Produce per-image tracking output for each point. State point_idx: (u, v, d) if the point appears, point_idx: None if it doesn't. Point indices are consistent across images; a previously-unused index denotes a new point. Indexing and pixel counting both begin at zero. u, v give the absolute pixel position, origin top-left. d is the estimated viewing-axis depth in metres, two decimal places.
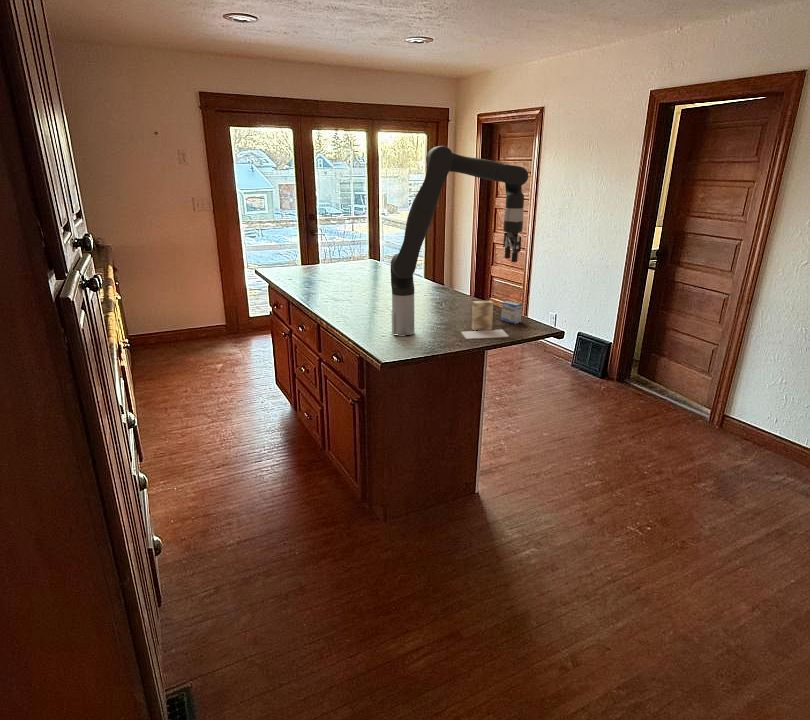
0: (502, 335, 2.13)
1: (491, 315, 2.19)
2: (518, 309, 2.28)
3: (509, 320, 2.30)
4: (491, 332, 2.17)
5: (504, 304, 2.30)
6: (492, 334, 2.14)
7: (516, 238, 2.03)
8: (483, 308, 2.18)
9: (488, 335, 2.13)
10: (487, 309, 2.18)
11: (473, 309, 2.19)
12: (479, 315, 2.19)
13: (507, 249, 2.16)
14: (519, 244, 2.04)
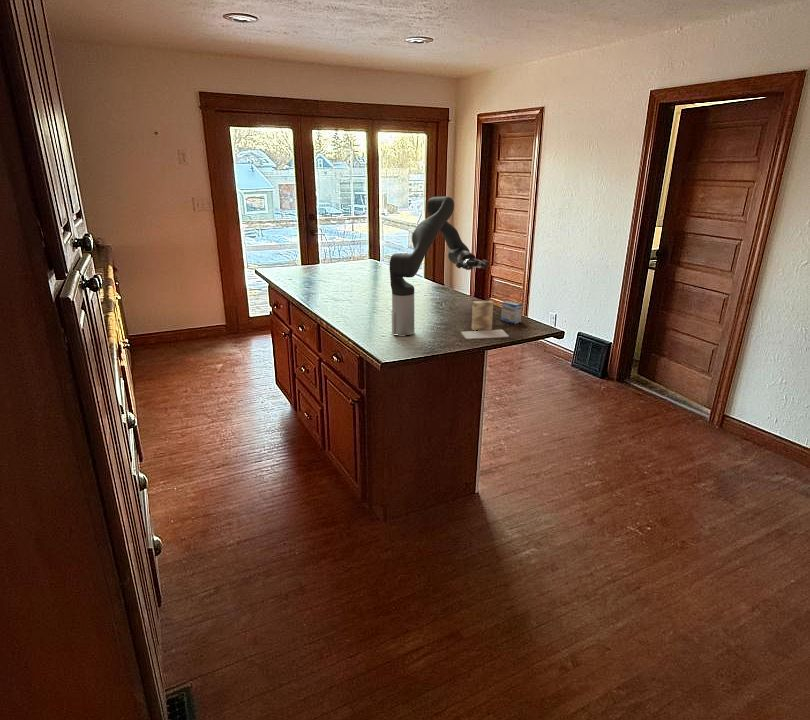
0: (502, 335, 2.13)
1: (491, 315, 2.19)
2: (518, 309, 2.28)
3: (509, 320, 2.30)
4: (491, 332, 2.17)
5: (504, 304, 2.30)
6: (492, 334, 2.14)
7: None
8: (483, 308, 2.18)
9: (488, 335, 2.13)
10: (487, 309, 2.18)
11: (473, 309, 2.19)
12: (479, 315, 2.19)
13: None
14: None
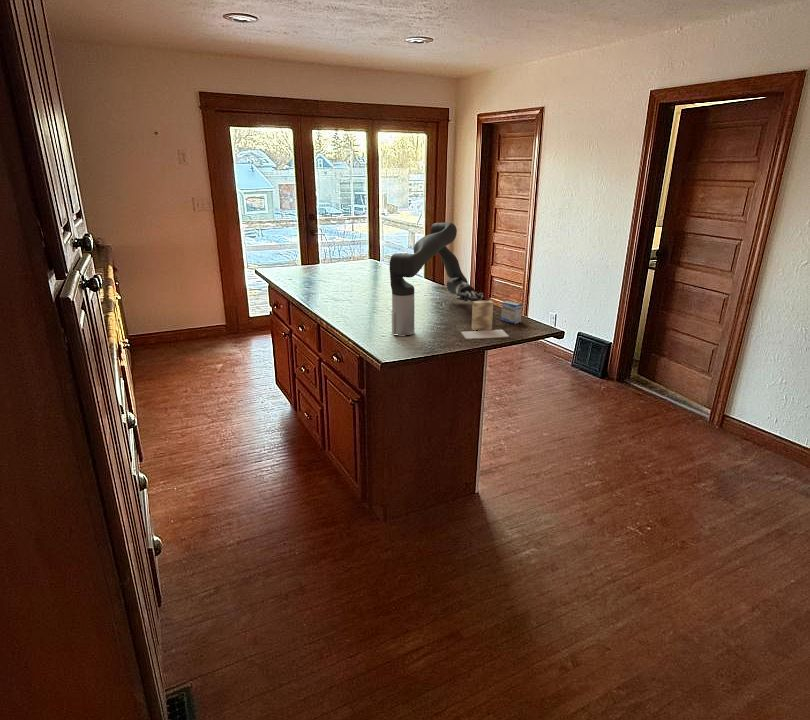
0: (502, 335, 2.13)
1: (491, 315, 2.19)
2: (518, 309, 2.28)
3: (509, 320, 2.30)
4: (491, 332, 2.17)
5: (504, 304, 2.30)
6: (492, 334, 2.14)
7: (482, 294, 2.38)
8: (483, 308, 2.18)
9: (488, 335, 2.13)
10: (487, 309, 2.18)
11: (473, 309, 2.19)
12: (479, 315, 2.19)
13: None
14: (480, 297, 2.37)
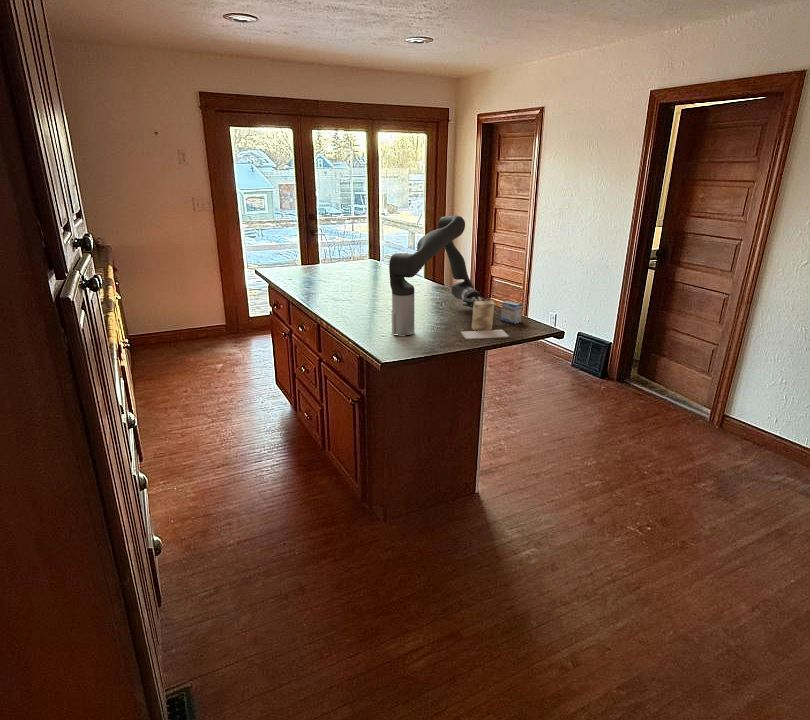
0: (502, 335, 2.13)
1: (492, 316, 2.19)
2: (518, 309, 2.28)
3: (509, 320, 2.30)
4: (491, 332, 2.17)
5: (504, 304, 2.30)
6: (492, 334, 2.14)
7: None
8: (484, 309, 2.16)
9: (488, 335, 2.13)
10: (488, 310, 2.17)
11: (474, 310, 2.18)
12: (480, 316, 2.18)
13: None
14: None
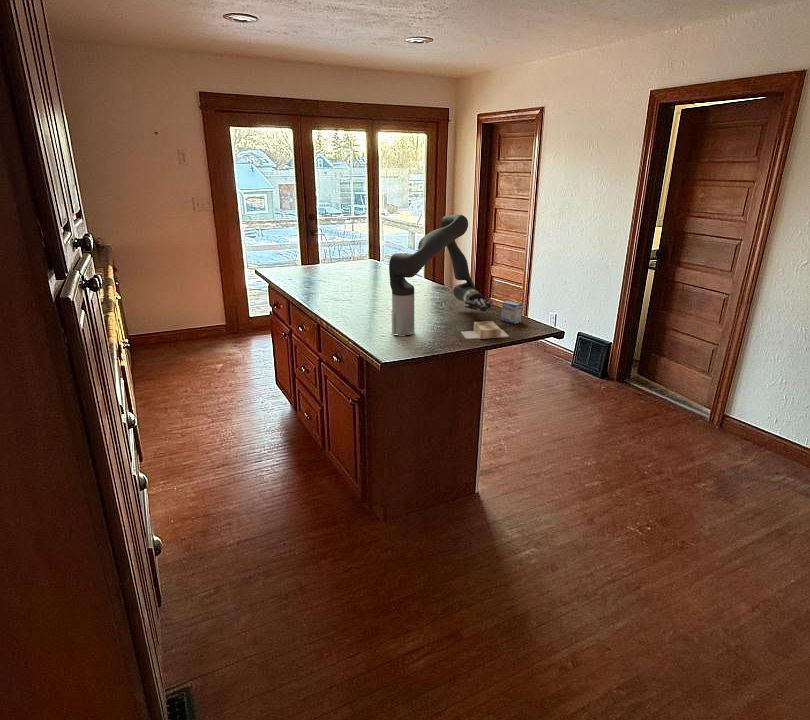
0: (502, 335, 2.13)
1: None
2: (518, 309, 2.28)
3: (509, 320, 2.30)
4: None
5: (504, 304, 2.30)
6: None
7: (492, 302, 2.25)
8: None
9: None
10: None
11: (479, 332, 2.12)
12: None
13: None
14: (490, 306, 2.23)
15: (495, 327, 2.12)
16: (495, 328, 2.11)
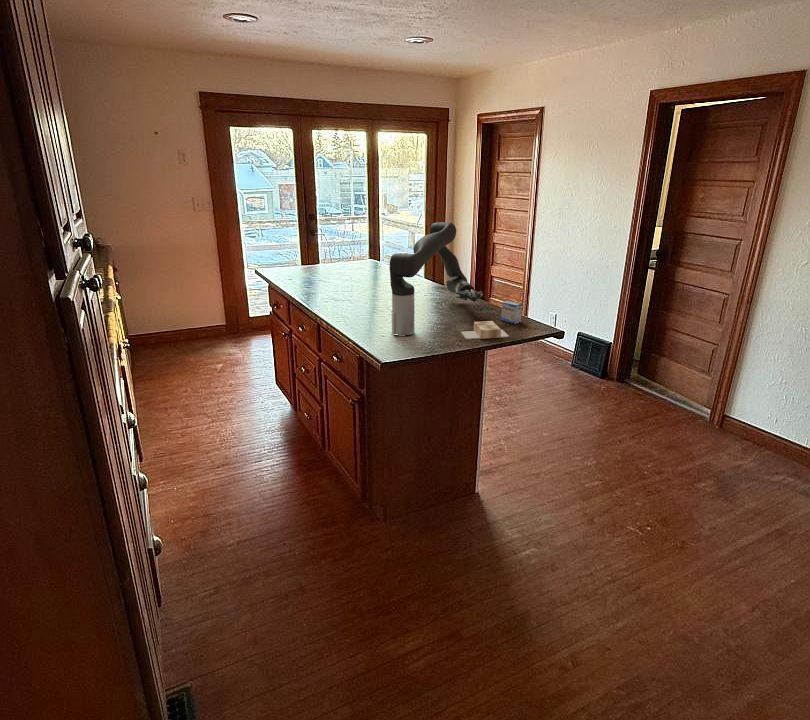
0: (502, 335, 2.13)
1: None
2: (518, 309, 2.28)
3: (509, 320, 2.30)
4: None
5: (504, 304, 2.30)
6: None
7: (482, 292, 2.39)
8: None
9: None
10: None
11: (479, 332, 2.12)
12: None
13: None
14: (480, 296, 2.37)
15: (495, 327, 2.12)
16: (495, 328, 2.11)
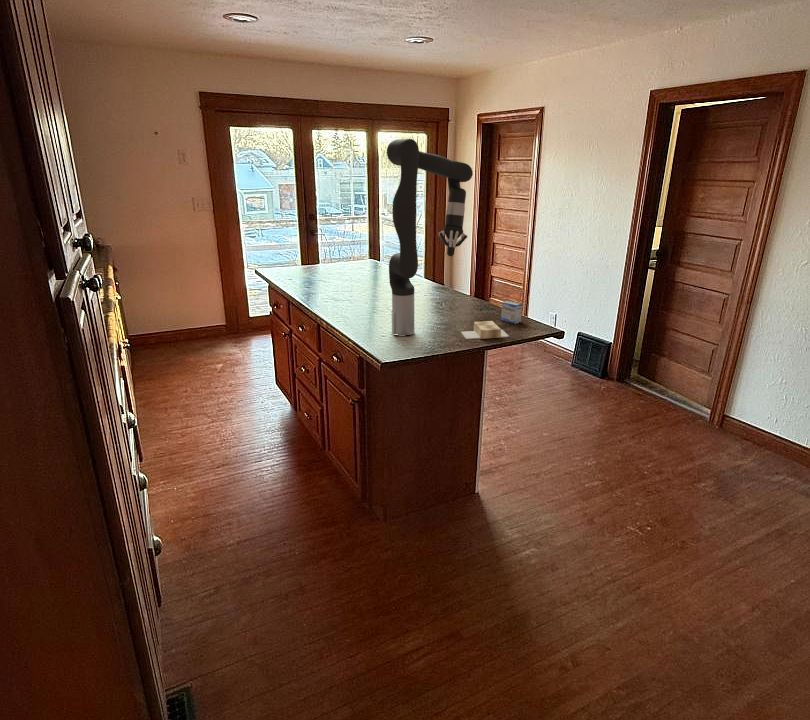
0: (502, 335, 2.13)
1: None
2: (518, 309, 2.28)
3: (509, 320, 2.30)
4: None
5: (504, 304, 2.30)
6: None
7: None
8: None
9: None
10: None
11: (479, 332, 2.12)
12: None
13: None
14: None
15: (495, 327, 2.12)
16: (495, 328, 2.11)
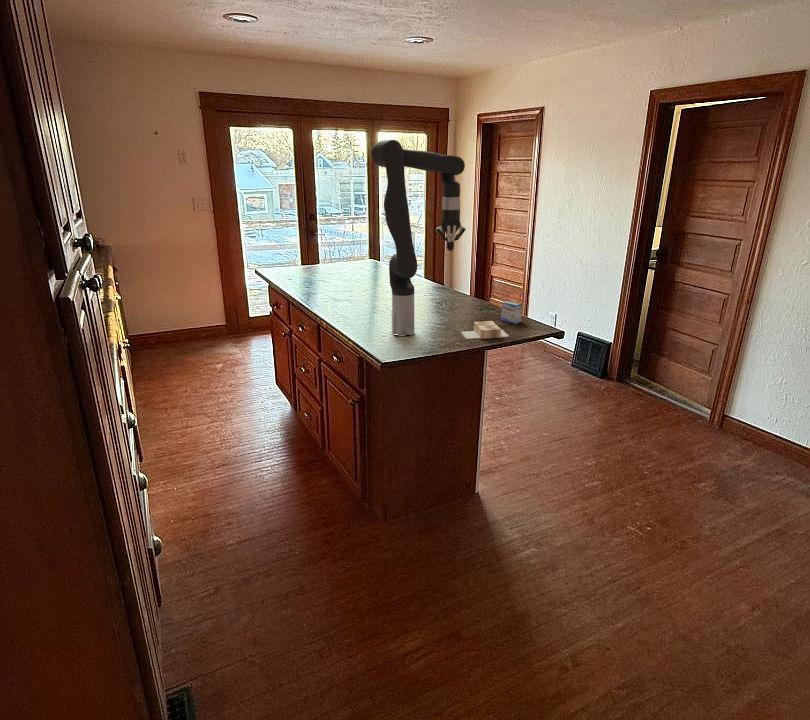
0: (502, 335, 2.13)
1: None
2: (518, 309, 2.28)
3: (509, 320, 2.30)
4: None
5: (504, 304, 2.30)
6: None
7: None
8: None
9: None
10: None
11: (479, 332, 2.12)
12: None
13: None
14: None
15: (495, 327, 2.12)
16: (495, 328, 2.11)
